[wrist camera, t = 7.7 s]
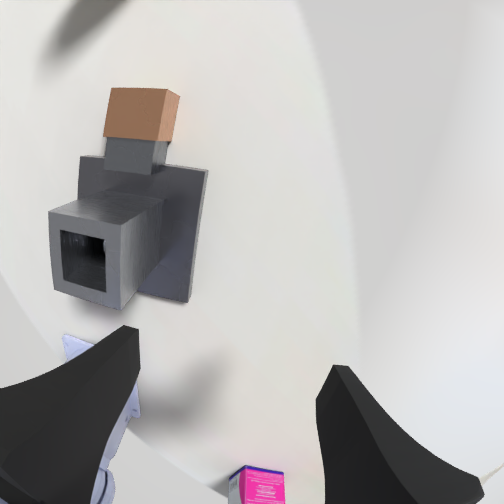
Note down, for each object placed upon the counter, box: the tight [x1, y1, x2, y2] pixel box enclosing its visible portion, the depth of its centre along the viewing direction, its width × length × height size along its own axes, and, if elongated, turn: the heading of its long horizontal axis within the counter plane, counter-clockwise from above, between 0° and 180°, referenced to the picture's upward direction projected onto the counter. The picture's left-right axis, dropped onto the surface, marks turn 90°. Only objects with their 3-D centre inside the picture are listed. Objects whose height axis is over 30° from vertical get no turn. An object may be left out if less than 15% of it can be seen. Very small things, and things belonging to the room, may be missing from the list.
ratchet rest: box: [78, 88, 208, 303], centre depth 17 cm, size 14×9×4 cm, turn 169°
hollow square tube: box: [48, 190, 164, 310], centre depth 15 cm, size 4×4×6 cm
